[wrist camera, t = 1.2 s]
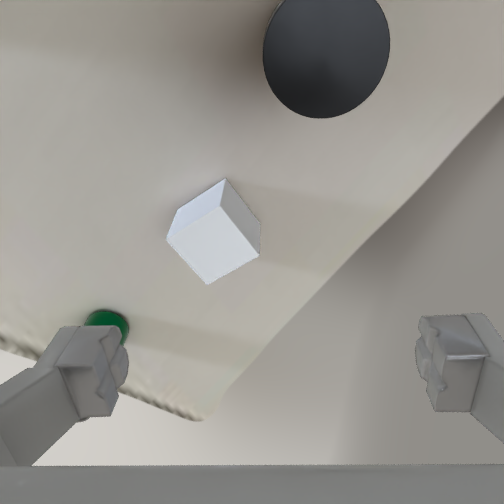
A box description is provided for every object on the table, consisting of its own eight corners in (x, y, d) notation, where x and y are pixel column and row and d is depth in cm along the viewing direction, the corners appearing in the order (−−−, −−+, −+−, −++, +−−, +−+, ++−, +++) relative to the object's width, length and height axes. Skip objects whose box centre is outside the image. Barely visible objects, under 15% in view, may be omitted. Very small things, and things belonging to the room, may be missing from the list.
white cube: (213, 251, 45) (206, 285, 39) (177, 209, 42) (165, 239, 37) (260, 223, 43) (259, 256, 37) (225, 177, 40) (219, 205, 35)
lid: (246, 9, 23) (244, 11, 21) (366, -42, 21) (376, -45, 19) (283, 124, 26) (284, 134, 24) (389, 85, 25) (400, 94, 23)
